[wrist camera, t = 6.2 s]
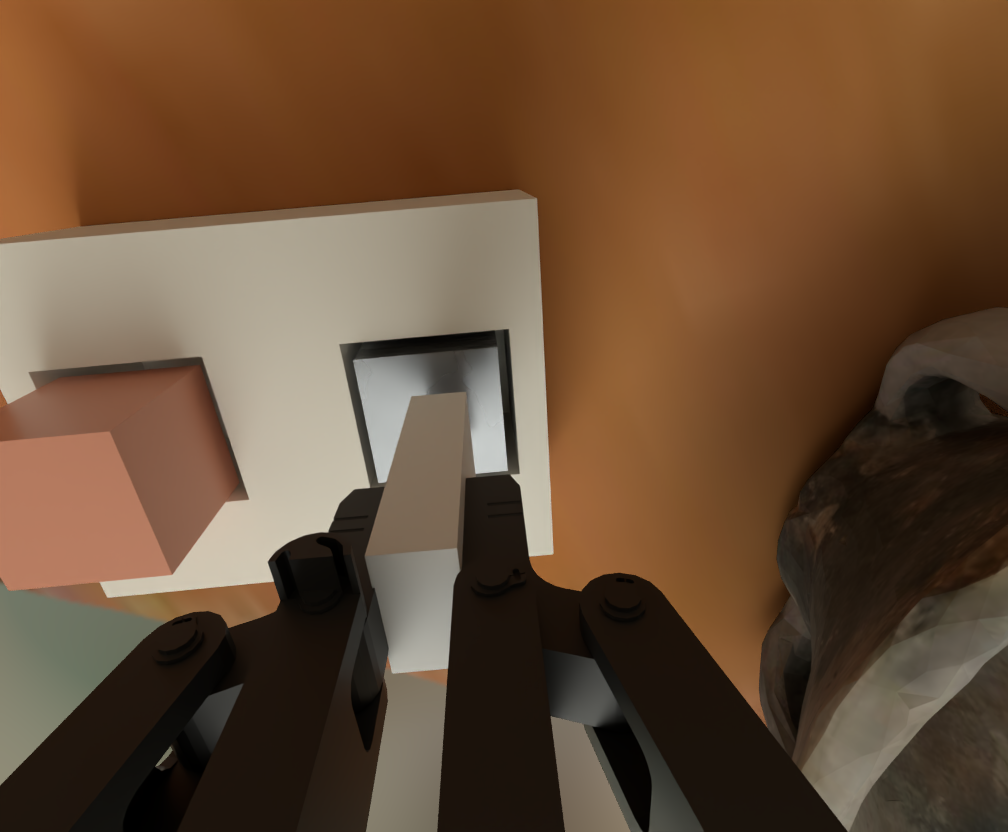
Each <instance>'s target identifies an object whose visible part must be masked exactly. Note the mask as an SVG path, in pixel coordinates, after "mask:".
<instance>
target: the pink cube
mask: <svg viewBox="0 0 1008 832" xmlns="http://www.w3.org/2000/svg"><path fill="white" fill-rule="evenodd" d="M239 483H240V482H239V479H238V476H237V473H236V470H235V467H234V464H233V461H232V458H231V455H230V452H229V449H228V446H227V443H226V440H225V437H224V434H223V432H222V429H221V426H220V423H219V420H218V417H217V414H216V411H215V408H214V405H213V402H212V399H211V396H210V393H209V390H208V387H207V384H206V381H205V378H204V375H203V372H202V369H201V366H200V365H193V366H182V367H170V368H159V369H148V370H137V371H126V372H115V373H104V374H93V375H81V376H70V377H60V378H58V379H56V380H54V381H52V382H50V383H48V384H46V385H44V386H42V387H40V388H38V389H36V390H35V391H33V392H31V393H29V394H27V395H25V396H23V397H21V398H19V399H17V400H15V401H13V402H11V403H9V404H7V405H5V406H4V407H2V408H0V577H1V579H2V581H3V582H4V584H5V585H6V587H7V589H8V590H9V591H11V590H23V589H33V588H43V587H54V586H64V585H74V584H85V583H95V582H105V581H115V580H126V579H136V578H146V577H157V576H167V575H173V573H174V572H175V571H176V569H177V568H178V566H179V565H180V564H181V562H182V561H183V560H184V558H185V557H186V555H187V554H188V553H189V551H190V550H191V549H192V547H193V546H194V545H195V543H196V542H197V540H198V539H199V538H200V536H201V535H202V534H203V532H204V531H205V529H206V528H207V527H208V525H209V524H210V523H211V521H212V520H213V518H214V517H215V516H216V514H217V513H218V512H219V510H220V509H221V507H222V506H223V505H224V503H225V502H226V501H227V499H228V498H229V496H230V495H231V494H232V492H233V491H234V490H235V488H236V487H237V486H238V484H239Z"/></svg>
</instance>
